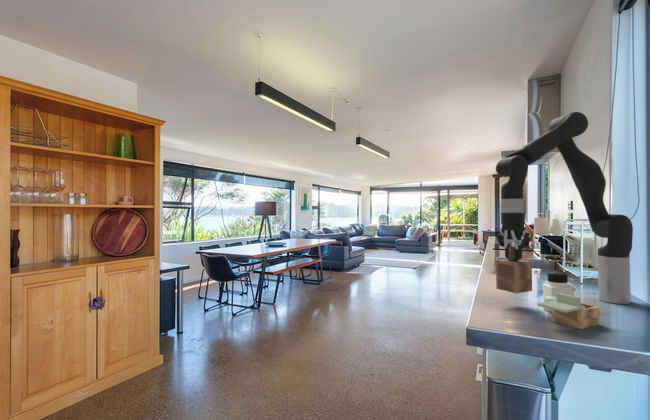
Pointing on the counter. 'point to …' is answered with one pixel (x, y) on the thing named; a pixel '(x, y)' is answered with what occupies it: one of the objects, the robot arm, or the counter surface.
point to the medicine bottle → (557, 285)
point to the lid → (563, 303)
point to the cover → (513, 274)
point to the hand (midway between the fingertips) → (513, 259)
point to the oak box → (578, 317)
